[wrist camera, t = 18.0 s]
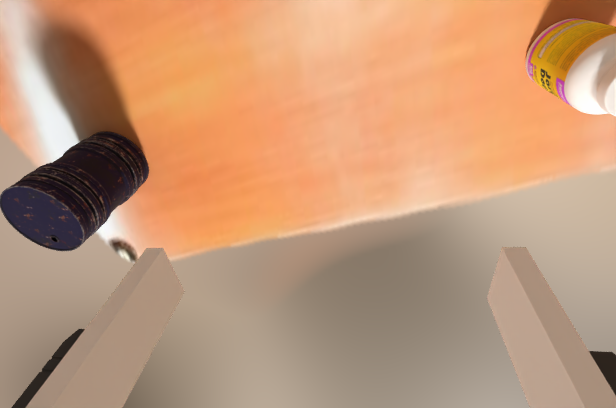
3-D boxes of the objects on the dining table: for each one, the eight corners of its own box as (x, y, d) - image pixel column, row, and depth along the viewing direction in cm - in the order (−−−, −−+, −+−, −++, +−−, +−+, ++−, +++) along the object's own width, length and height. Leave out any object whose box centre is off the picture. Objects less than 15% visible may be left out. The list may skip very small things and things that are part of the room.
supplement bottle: (509, 59, 36) (571, 96, 26) (569, 2, 32) (669, 17, 22) (547, 96, 38) (619, 145, 27) (608, 46, 34) (718, 79, 24)
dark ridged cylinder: (74, 129, 48) (-21, 183, 36) (136, 131, 47) (60, 186, 35) (101, 187, 54) (27, 249, 42) (157, 189, 53) (98, 254, 41)
